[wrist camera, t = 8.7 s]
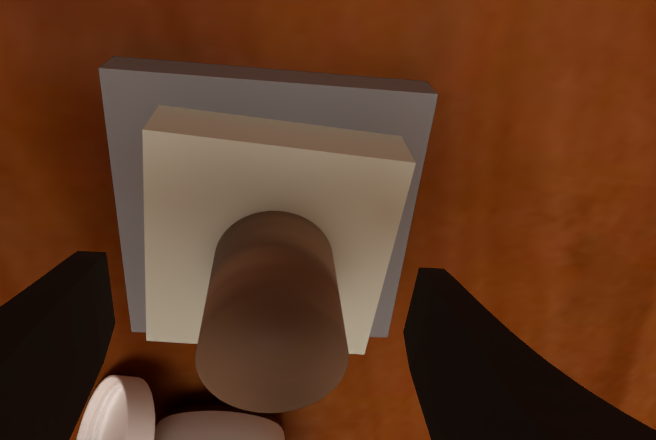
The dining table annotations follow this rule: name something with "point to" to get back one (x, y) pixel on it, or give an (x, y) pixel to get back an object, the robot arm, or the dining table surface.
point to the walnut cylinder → (272, 316)
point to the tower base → (263, 102)
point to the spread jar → (167, 417)
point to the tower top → (264, 205)
